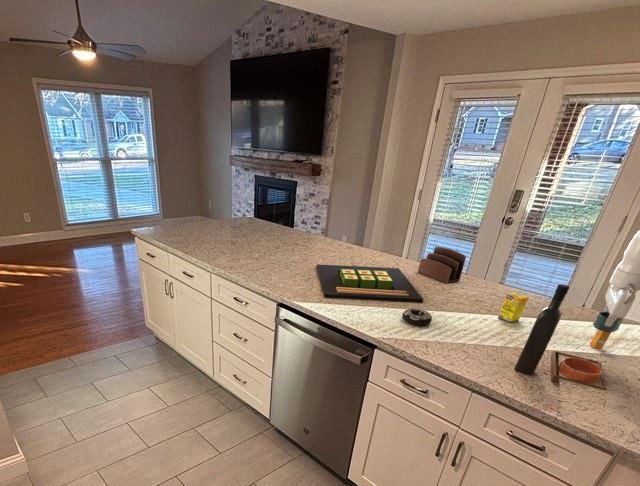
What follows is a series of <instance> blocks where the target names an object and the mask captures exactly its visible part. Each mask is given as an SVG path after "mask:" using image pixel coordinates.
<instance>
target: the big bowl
mask: <svg viewBox="0 0 640 486" xmlns="http://www.w3.org/2000/svg"><path fill="white" fill-rule="evenodd" d="M576 369H578V370H576ZM579 370H580V371H579ZM582 371H583V372H582ZM602 373H603V374H604V370H603V368H602V369H601V368H600V367H599V365H597V363H593V362H590V361H587V360H584V359H580V358H573V357H569V356H566V357H564V358H563V359H562V360H561V361H560V363H559V368H558V369H557V374H558V375H559V376H560V374H561V375H563V377H566V378H569V379H573V380H577V381H581V382H585V383H589V384H595V383H598V381H599V380H600V379H601V375H602Z"/></svg>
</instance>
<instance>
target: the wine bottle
mask: <svg viewBox="0 0 640 486" xmlns="http://www.w3.org/2000/svg"><path fill="white" fill-rule="evenodd" d="M569 289H570V286H569V285H566V284H562V283H561V284H557V286H556V289H555V291H554V294H553V296H552V298H551V300H550V303H549V304H548V306H547V307H544V308H543V309H542V310H541V311H540V312H539V314H538V315H537V317H536V320H535V322H534V324H533V326H532V328H531V330H530V332H529V335H528V337H527V340H526V341H525V344H524V346H523V348H522V350H521V353H520V355H519V357H518V360H517V362H516V364H515V366H514V371H516V372H519V373H522V374H525V375H527V376H533V375H534V373H535V372H536V370H537V368H538V366H539V364H540V362H541V360H542V358H543V356H544V354H545V352H546V349H547V348H548V346H549V344H550V342H551V339H552V338H553V335H554V333H555V332H556V329H557V327H558V325H559V323H560V321H561V319H562V312H561V310H560V308H561V305H562V303H563V302H564V299H565V297H566V295H567V294H568V291H569Z"/></svg>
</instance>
